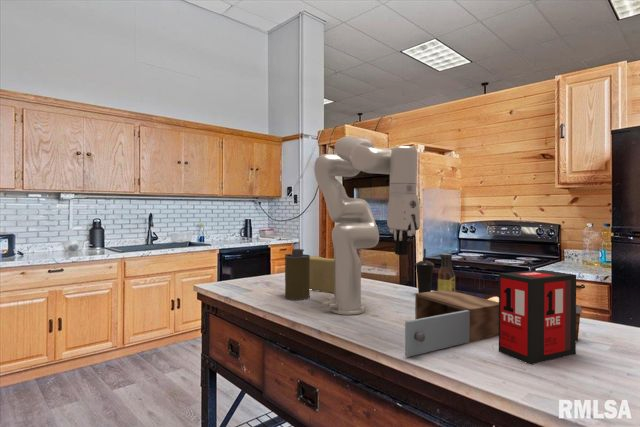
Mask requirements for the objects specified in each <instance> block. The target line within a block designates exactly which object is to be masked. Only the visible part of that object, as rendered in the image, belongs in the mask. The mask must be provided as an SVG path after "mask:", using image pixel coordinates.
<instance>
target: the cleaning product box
mask: <svg viewBox="0 0 640 427" xmlns="http://www.w3.org/2000/svg"><path fill="white" fill-rule="evenodd" d="M498 302H499V336H498V353H501V354H503V355H505V356H508V357H511V358H513V359H515V358H516V360H518V361H520V360H521V361H520V362H523V363H525V362H526V364H527V365H530V364H531V365H535V364H540V363H543V362H548V361H552V360H556V359H561V358H565V357H569V356H574V355H577V341H576V306H577V274H573V273H566V272H559V271H554V270H547V269H535V270H525V271H513V272H502V273H501V272H499V273H498ZM539 362H540V363H539Z"/></svg>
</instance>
